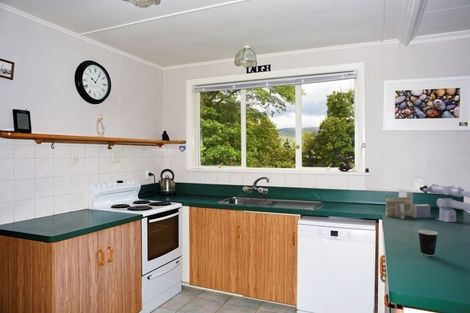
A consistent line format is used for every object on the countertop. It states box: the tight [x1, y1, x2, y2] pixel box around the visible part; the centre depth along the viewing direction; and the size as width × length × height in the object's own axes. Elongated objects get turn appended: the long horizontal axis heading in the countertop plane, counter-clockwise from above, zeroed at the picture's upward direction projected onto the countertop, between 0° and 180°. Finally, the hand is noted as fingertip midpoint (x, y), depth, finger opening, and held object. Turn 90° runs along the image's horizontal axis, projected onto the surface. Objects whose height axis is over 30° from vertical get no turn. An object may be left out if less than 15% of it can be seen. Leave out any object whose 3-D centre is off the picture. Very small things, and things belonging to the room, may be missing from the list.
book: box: [411, 204, 431, 219], centre depth 230 cm, size 4×12×9 cm, turn 101°
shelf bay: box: [385, 197, 412, 220], centre depth 229 cm, size 9×20×14 cm, turn 101°
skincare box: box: [398, 188, 414, 212], centre depth 264 cm, size 21×6×16 cm, turn 168°
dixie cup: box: [417, 229, 439, 256], centre depth 143 cm, size 8×8×11 cm
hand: (424, 188), depth 238 cm, fingers open, 7 cm apart
